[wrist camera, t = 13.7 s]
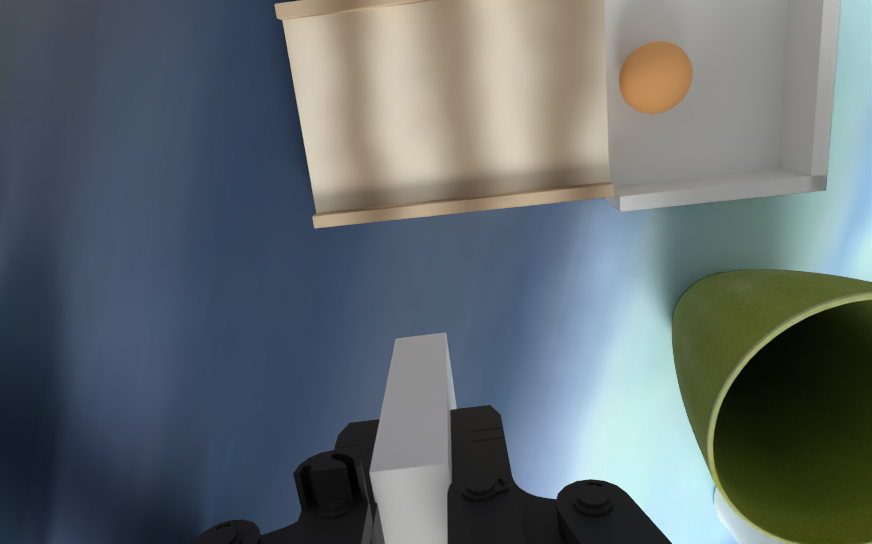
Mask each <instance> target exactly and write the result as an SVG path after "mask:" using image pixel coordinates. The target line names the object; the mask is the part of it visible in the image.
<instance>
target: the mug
mask: <svg viewBox="0 0 872 544" xmlns="http://www.w3.org/2000/svg"><path fill="white" fill-rule="evenodd" d="M714 507H715V510H716V513H717V515H718V517H719V519H720V520H721V522H722V523H723V524H724V525H725V526H726V527H727V528H728V529H729V530H730V531H731V533H732V534H733V536H734V537H735V539H736V541H737V542H738V544H788V543H784V542H782V541H779V540H776V539H773V538H771V537H769V536H767V535H765V534H763V533H761V532H759V531H758V530H756V529H754V528H753V527H751V526H750V525H749V524H747V523H746V522H745V521H743V520H742V519H741V518H740V517H739V516H738V515H737V514H736V513H735V512H734V511H733V510H732V509H731V508H730V507H729V506H728V504H727V503H726V502H725V500H724V499H723V497H722V496H721V494H720V492H719V491H718V489H717V487H716V489H715V493H714Z"/></svg>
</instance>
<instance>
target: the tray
mask: <svg viewBox="0 0 872 544" xmlns="http://www.w3.org/2000/svg"><path fill="white" fill-rule="evenodd" d="M840 8H841V0H604V14H605V49H606V85H607V120H608V155H609V182H611V183H613V184H614V196H613V197H604V200H605V201H607V202H608V203H609V204H611V205H612V206H613V207H615V208H616V209H617V210H619V211H620V212H623V211H633V210H642V209H652V208H662V207H671V206H681V205H690V204H700V203H709V202H719V201H729V200H738V199H748V198H757V197H767V196H776V195H786V194H796V193H805V192H815V191H824V190H826V184H827V172H828V159H829V147H830V134H831V121H832V109H833V96H834V84H835V71H836V59H837V46H838V33H839V21H840ZM656 41H664V42H669V43H672V44H675V45H677V46H678V47H680V48H681V49H682V50H683V51H684V52H685V53H686V54H687V56H688V57H689V59H690V62H691V65H692V70H693V77H692V83H691V86H690V88H689V91H688V93H687V94H686V96H685V97H684V98H683V100H682V101H681V102H680V103H678V104H677V105H676V106H675V107H673V108H671V109H670V110H667V111H665V112H662V113H656V114H648V113H643V112H639V111H637V110H635V109H634V108H632V107H631V106H630V105H629V104H628V103H627V102H626V101H625V100H624V98H623V96H622V94H621V91H620V87H619V76H620V72H621V69H622V66H623V64H624V62H625V61H626V59H627V58H628V56H629V55H630V54H631V53H632V52H633V51H635V50H636V49H637V48H639V47H640V46H642V45H644V44H647V43H650V42H656Z"/></svg>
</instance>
